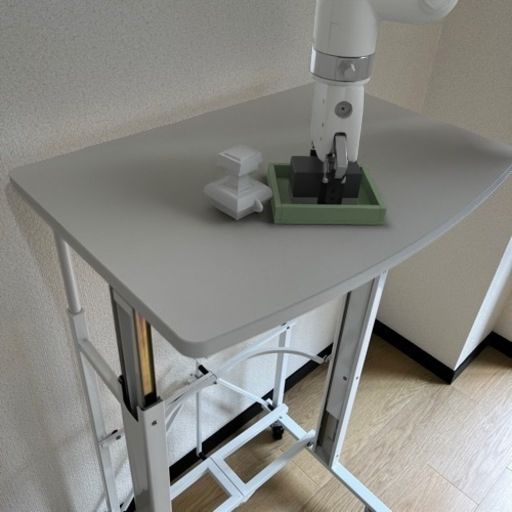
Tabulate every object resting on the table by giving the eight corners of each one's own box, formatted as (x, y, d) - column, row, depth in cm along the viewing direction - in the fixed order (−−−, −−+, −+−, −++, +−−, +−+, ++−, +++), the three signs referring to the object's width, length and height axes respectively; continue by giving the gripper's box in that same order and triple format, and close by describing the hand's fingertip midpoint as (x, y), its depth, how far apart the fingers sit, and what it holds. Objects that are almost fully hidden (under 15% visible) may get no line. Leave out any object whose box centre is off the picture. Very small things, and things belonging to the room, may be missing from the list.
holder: (362, 179, 83) (365, 164, 82) (383, 225, 73) (386, 208, 72) (266, 178, 82) (268, 162, 81) (274, 223, 72) (275, 206, 70)
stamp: (196, 205, 75) (196, 148, 70) (232, 189, 79) (233, 134, 74) (243, 233, 70) (246, 173, 65) (278, 214, 74) (283, 157, 69)
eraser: (349, 188, 80) (355, 156, 77) (356, 206, 76) (362, 173, 73) (287, 187, 79) (290, 155, 76) (291, 205, 75) (295, 172, 72)
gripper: (389, 90, 60) (363, 224, 70) (356, 44, 74) (338, 162, 84) (321, 88, 59) (304, 224, 69) (301, 42, 73) (289, 161, 83)
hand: (323, 190), depth 77 cm, fingers open, 8 cm apart
